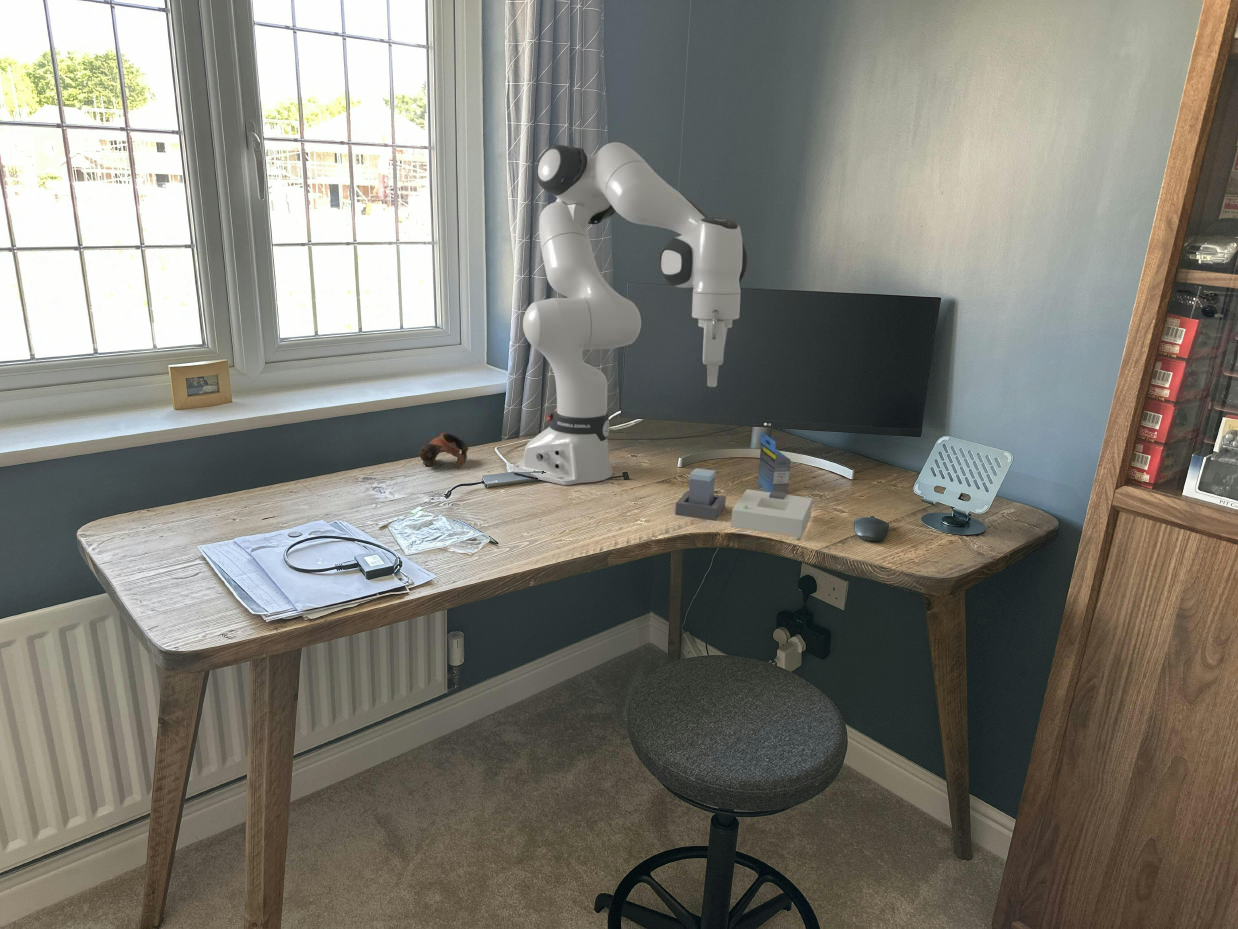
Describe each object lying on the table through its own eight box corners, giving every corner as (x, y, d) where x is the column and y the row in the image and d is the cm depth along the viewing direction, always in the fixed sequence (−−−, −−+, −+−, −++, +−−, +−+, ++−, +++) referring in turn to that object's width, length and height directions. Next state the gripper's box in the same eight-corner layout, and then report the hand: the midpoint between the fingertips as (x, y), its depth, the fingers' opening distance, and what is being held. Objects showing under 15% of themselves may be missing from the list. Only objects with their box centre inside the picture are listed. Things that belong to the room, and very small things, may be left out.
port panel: (730, 529, 156) (732, 507, 155) (745, 508, 168) (747, 486, 167) (800, 540, 152) (802, 517, 151) (810, 517, 164) (812, 495, 162)
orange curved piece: (436, 458, 197) (453, 430, 195) (462, 482, 194) (480, 453, 192) (402, 457, 187) (419, 427, 185) (429, 483, 183) (447, 452, 181)
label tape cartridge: (788, 497, 175) (793, 441, 171) (770, 498, 174) (775, 441, 170) (773, 484, 183) (777, 430, 180) (756, 485, 182) (760, 430, 179)
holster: (675, 517, 162) (675, 502, 161) (686, 504, 169) (687, 490, 168) (715, 523, 159) (716, 508, 158) (725, 510, 166) (726, 496, 166)
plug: (688, 512, 163) (690, 473, 160) (693, 506, 166) (695, 468, 164) (707, 515, 161) (710, 476, 159) (712, 509, 165) (715, 470, 163)
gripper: (733, 314, 145) (729, 392, 148) (732, 304, 164) (729, 373, 168) (696, 313, 145) (693, 391, 149) (700, 303, 165) (697, 372, 169)
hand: (712, 381), depth 159 cm, fingers open, 8 cm apart
